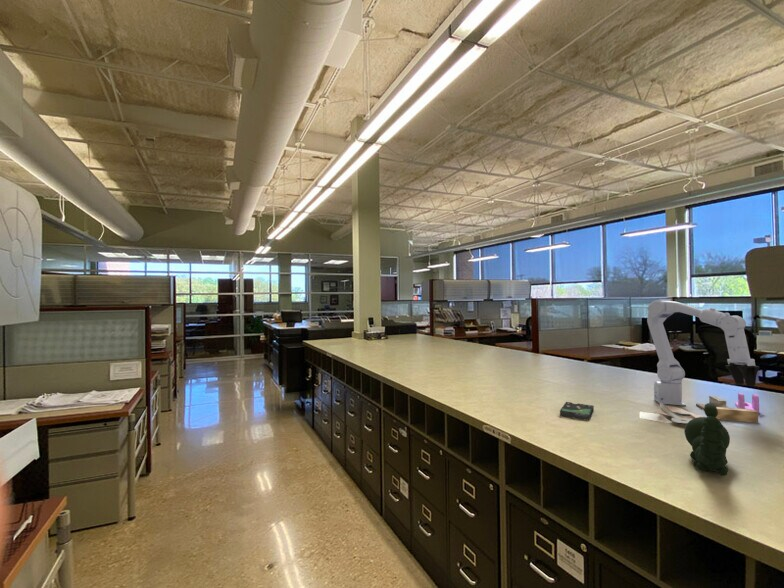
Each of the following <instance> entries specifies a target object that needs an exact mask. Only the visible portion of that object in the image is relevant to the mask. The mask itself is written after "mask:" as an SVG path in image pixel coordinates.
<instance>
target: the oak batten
mask: <svg viewBox="0 0 784 588" xmlns="http://www.w3.org/2000/svg"><path fill="white" fill-rule="evenodd" d="M716 408H717V410H718V415H717V417H716V418H717V419H719V420H724V421H725V420H726V421H736V422H749V423H759V414H758V412H757V411H755V410H751V409H738V408H737V407H729V408H724V407H716Z"/></svg>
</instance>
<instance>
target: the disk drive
mask: <svg viewBox="0 0 784 588" xmlns="http://www.w3.org/2000/svg"><path fill="white" fill-rule="evenodd" d="M594 407H595V406H594V405H591V404H585V403H573V402H571V401H569V402H568V401H566V402H564V404H563V405H562V407H561V408H560V410H559V416H560V417H564V418H569V419H570V418H571V419H577V420H581V421H582V420H583V421H589V422H590V420H591V418H592V416H593V413H594V412H595V411H594V409H595V408H594Z"/></svg>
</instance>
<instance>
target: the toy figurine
mask: <svg viewBox="0 0 784 588" xmlns="http://www.w3.org/2000/svg"><path fill="white" fill-rule="evenodd" d="M704 404H705V406H704V410H703V412H704V414H705V416H703V417H697V418H694V419H692V420H690V421H689V422H688V423H687V424H685V427H684V435H685V439H686V441H687V443H689V445H690V446H691V450H692V451H691V452H690V455H689V456H690V458H691V460H693V462H692V466H693V467H694V468H695V469H697V470H698V471H699V472H701V473H702V472H703V473H704V472H706V471H707V470H708V471H712V472H713V471H714V472H717V474H718V475H720V476H723V477H725V476H727V475H728V474H729V471H730V470H729V468H728V466H727V465H728V462H729V461H728V460H727V456H726V455H727V449H728V448H729V446H730V442H731V437H730V434H729V431H728V429H727V428H726V427H725V426H724V425H723V424H722V422H721V421H720V420H721V419H717V418H716V417H717V415H718V410H717V408H716V406H715V405H714V404H712V403H709V402H707V403H704Z"/></svg>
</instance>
